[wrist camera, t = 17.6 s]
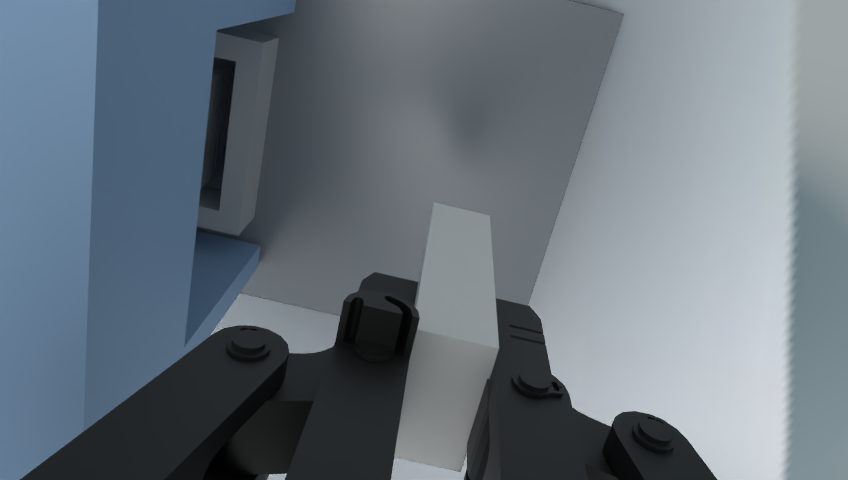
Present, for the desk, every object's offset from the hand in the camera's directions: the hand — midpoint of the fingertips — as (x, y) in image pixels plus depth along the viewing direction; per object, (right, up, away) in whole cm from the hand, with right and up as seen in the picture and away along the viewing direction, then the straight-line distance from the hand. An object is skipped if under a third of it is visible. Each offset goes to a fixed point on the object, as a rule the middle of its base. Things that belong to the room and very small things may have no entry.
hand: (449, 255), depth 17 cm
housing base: (-9, +6, +9) cm, 14 cm away
